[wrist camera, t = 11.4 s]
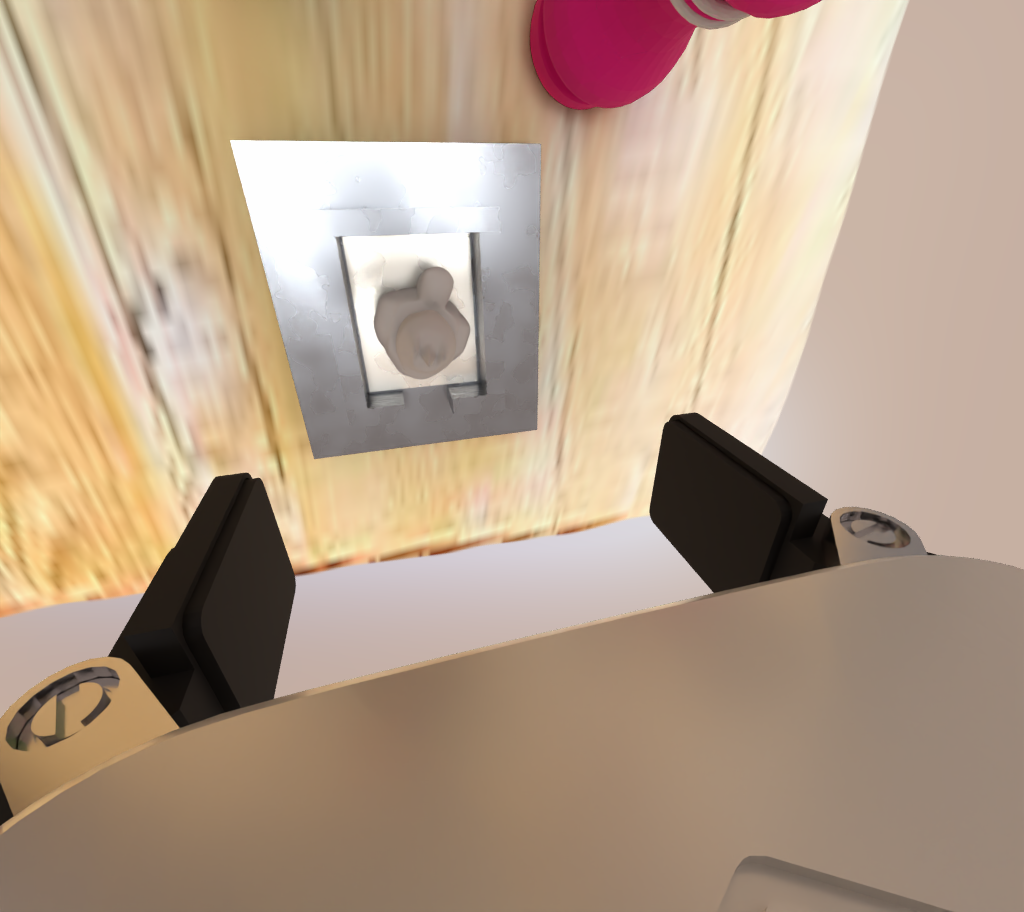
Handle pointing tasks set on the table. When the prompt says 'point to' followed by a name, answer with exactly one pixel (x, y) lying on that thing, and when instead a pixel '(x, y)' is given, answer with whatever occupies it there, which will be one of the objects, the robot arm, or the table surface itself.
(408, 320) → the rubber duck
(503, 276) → the plate
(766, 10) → the pepper mill
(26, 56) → the table surface
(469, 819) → the robot arm
